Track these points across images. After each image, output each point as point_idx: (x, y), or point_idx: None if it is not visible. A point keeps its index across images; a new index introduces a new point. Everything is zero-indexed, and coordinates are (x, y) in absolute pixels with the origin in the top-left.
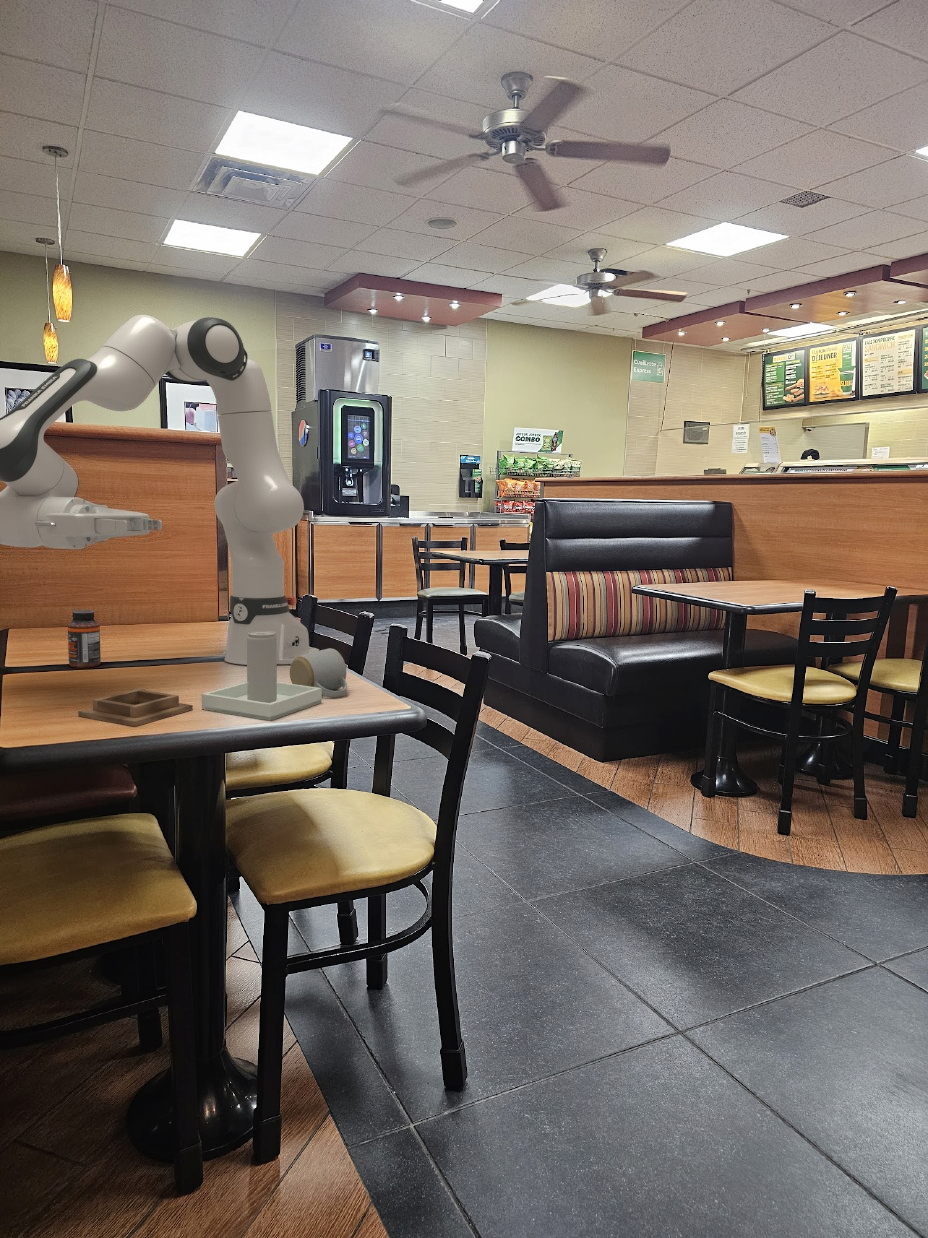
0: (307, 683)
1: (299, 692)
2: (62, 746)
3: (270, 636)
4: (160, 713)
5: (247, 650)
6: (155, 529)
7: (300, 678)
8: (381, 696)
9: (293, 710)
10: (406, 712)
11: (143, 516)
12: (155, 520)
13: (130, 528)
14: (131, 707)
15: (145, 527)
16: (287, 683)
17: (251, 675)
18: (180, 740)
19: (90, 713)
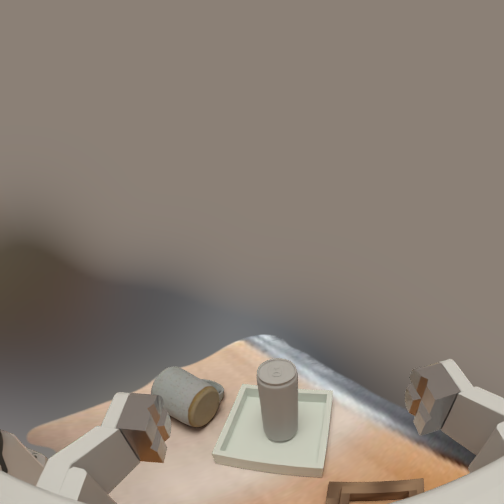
0: (218, 403)
1: (240, 407)
2: None
3: (283, 361)
4: (381, 483)
5: (292, 396)
6: (169, 429)
7: (208, 409)
8: (203, 364)
9: None
10: (256, 339)
11: (9, 474)
12: (155, 399)
13: (407, 391)
14: (416, 488)
15: (101, 487)
16: (229, 416)
17: (297, 410)
18: None
19: None
